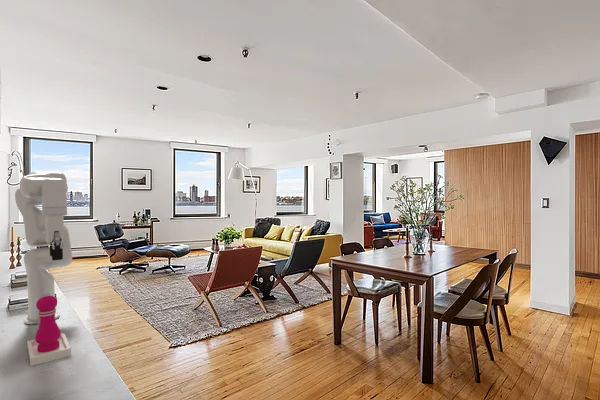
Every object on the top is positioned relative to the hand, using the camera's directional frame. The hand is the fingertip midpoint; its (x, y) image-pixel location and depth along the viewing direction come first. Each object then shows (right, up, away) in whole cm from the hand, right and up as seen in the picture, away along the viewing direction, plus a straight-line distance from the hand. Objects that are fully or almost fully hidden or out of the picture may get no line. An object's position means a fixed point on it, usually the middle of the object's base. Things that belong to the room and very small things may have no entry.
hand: (56, 257), depth 131 cm
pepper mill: (+3, -31, -8) cm, 32 cm away
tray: (+3, -32, -8) cm, 33 cm away
